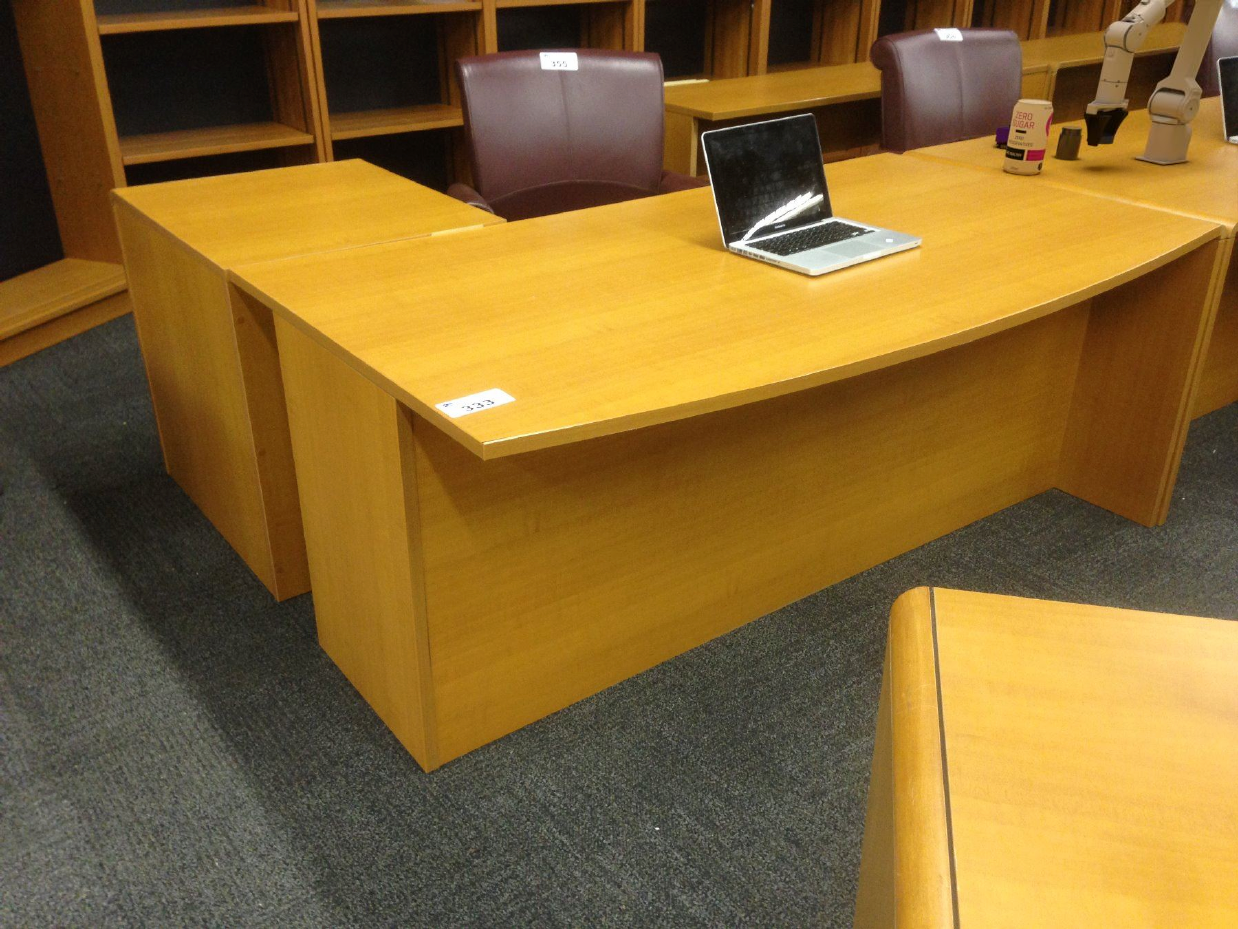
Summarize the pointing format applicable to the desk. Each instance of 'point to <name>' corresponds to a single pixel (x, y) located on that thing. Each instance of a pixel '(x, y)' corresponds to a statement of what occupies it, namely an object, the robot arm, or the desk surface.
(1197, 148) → the desk surface
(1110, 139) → the lid
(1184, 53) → the robot arm
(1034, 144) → the supplement can
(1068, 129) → the jar
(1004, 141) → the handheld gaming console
